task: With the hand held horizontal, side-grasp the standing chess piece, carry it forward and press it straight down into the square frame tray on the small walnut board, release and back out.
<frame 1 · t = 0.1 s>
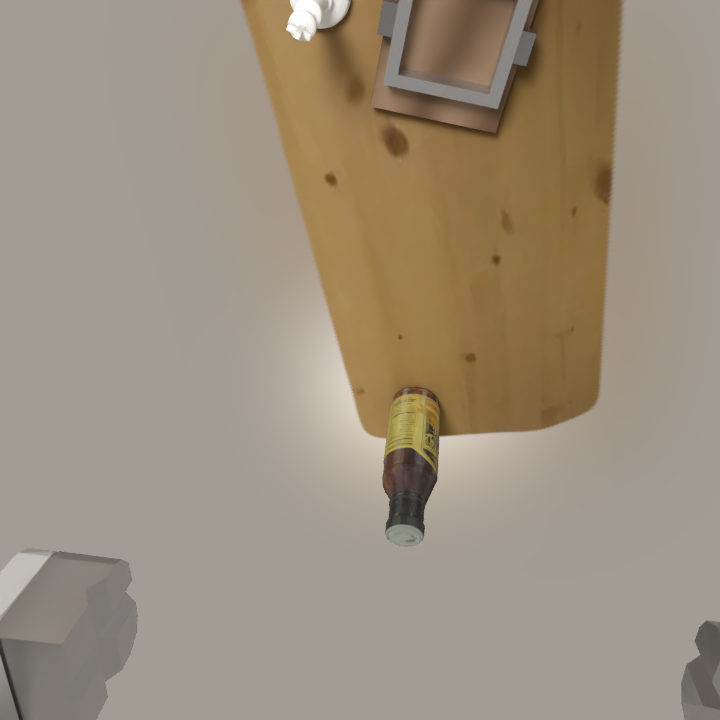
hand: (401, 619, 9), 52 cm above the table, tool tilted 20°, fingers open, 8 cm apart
sauce bottle: (415, 399, 82), on the table
socket board: (456, 23, 52), on the table
square frame tray: (456, 31, 50), on the socket board, point 2 cm above the table
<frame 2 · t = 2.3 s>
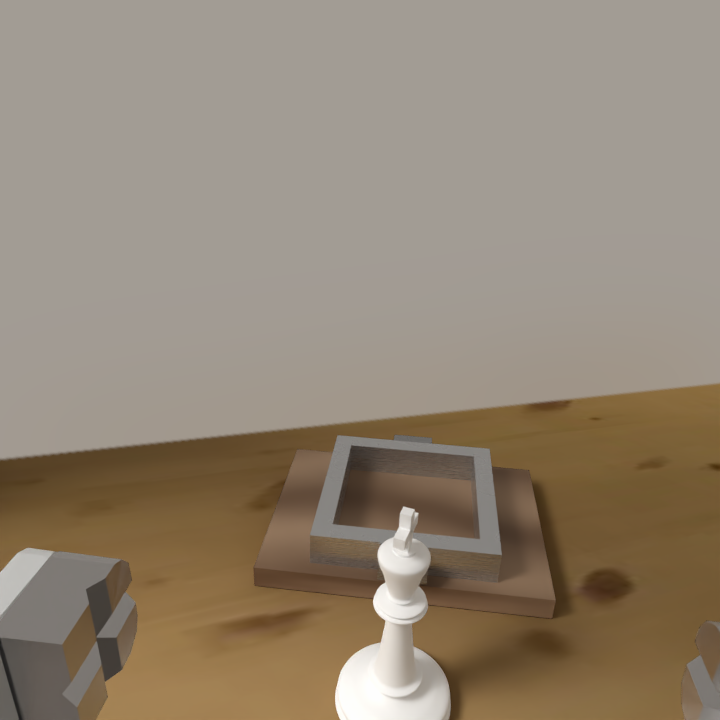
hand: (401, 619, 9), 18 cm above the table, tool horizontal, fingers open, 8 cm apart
chess piece: (392, 702, 28), on the table
socket board: (405, 529, 38), on the table
square frame tray: (408, 500, 37), on the socket board, point 2 cm above the table
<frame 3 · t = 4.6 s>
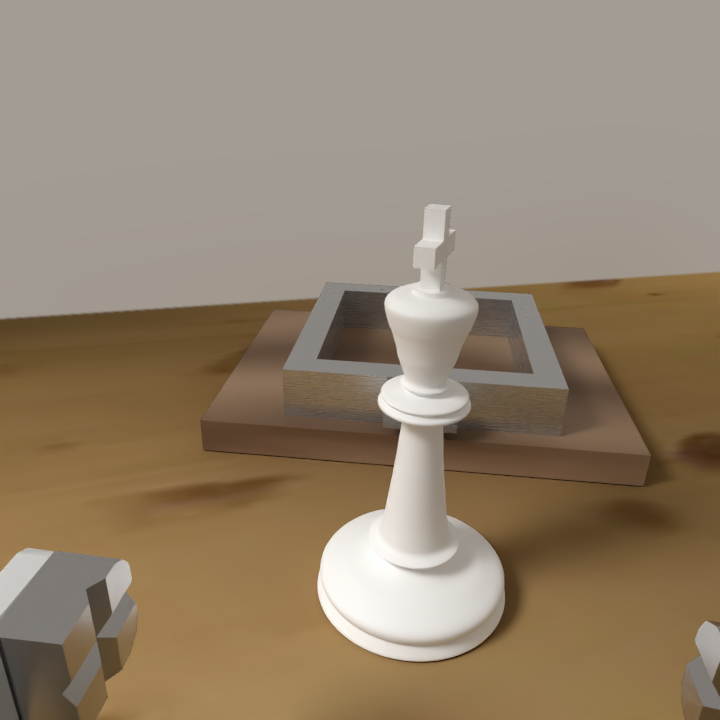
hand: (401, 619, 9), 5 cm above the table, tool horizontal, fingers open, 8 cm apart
chess piece: (409, 590, 17), on the table
socket board: (420, 392, 27), on the table
square frame tray: (424, 346, 26), on the socket board, point 2 cm above the table
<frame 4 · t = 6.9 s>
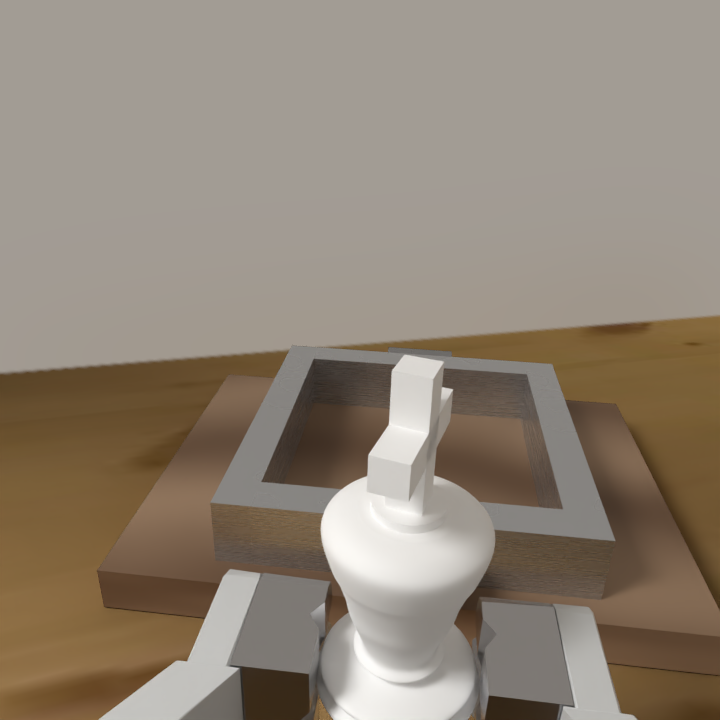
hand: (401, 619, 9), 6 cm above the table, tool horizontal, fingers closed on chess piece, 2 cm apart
socket board: (408, 500, 21), on the table
square frame tray: (412, 445, 20), on the socket board, point 2 cm above the table
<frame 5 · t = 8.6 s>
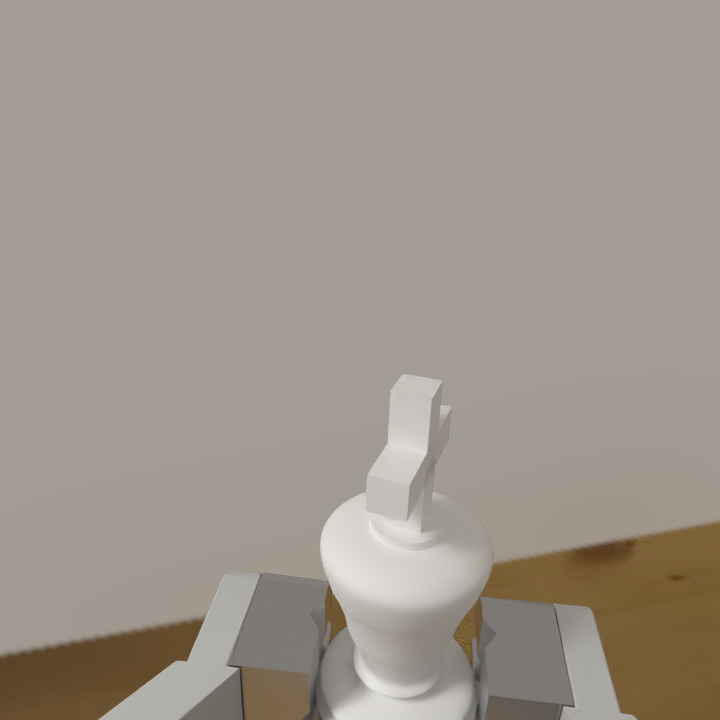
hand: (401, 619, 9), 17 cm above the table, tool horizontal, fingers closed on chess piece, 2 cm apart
when the fingers open (8 cm above the table, at t = 10.8 s): chess piece drops 1 cm, resting on socket board.
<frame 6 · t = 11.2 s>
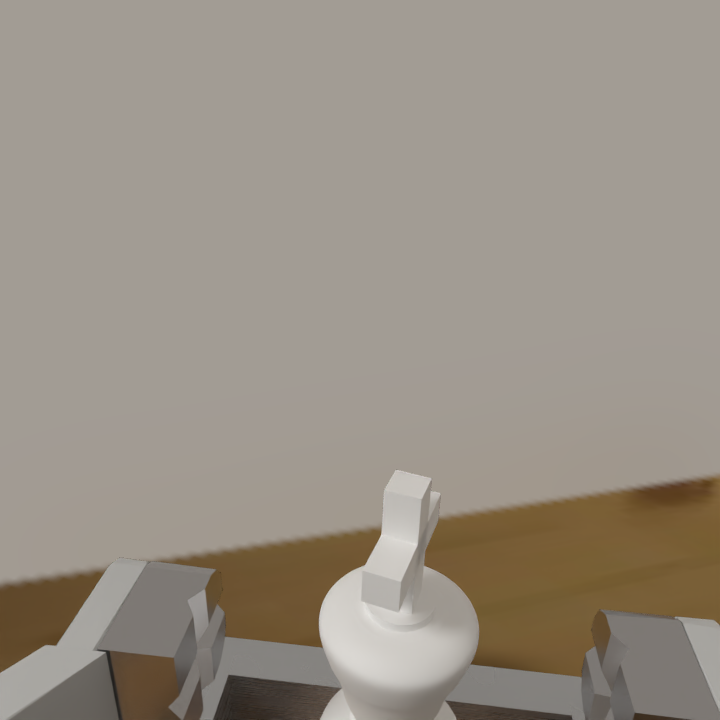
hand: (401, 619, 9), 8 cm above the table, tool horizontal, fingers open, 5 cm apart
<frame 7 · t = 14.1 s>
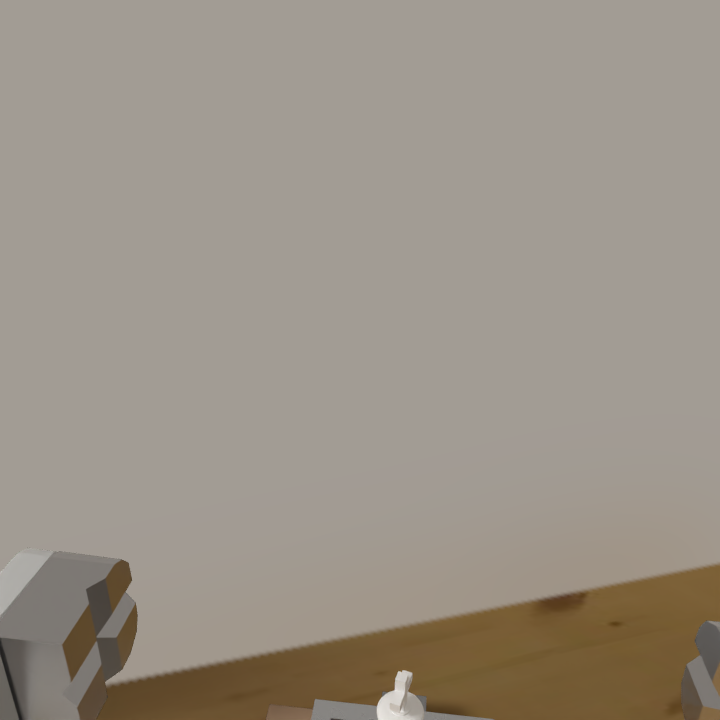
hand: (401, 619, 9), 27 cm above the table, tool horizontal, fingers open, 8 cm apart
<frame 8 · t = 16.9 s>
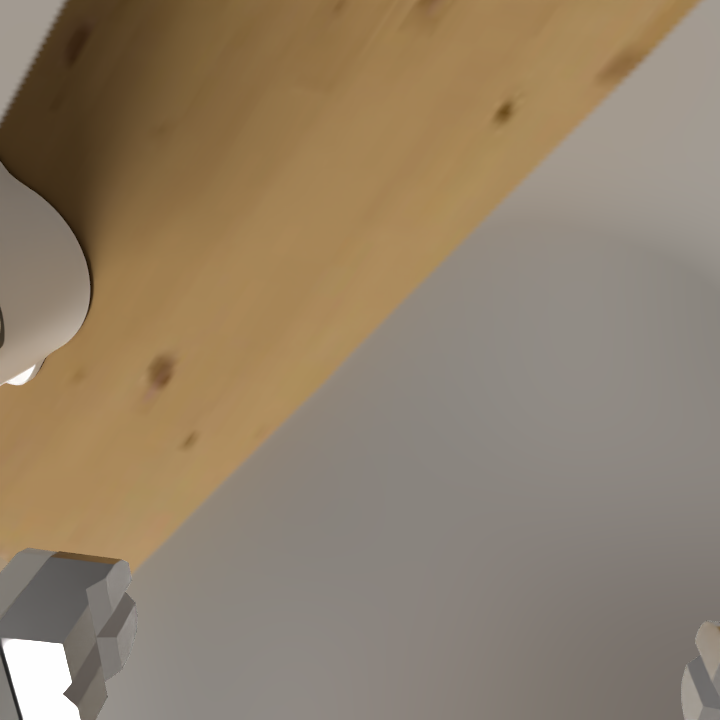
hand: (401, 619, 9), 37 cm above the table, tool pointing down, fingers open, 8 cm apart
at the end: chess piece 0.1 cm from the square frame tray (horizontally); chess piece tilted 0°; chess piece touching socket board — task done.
